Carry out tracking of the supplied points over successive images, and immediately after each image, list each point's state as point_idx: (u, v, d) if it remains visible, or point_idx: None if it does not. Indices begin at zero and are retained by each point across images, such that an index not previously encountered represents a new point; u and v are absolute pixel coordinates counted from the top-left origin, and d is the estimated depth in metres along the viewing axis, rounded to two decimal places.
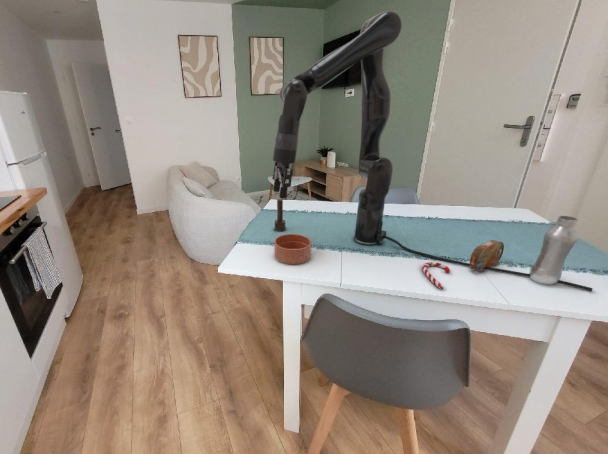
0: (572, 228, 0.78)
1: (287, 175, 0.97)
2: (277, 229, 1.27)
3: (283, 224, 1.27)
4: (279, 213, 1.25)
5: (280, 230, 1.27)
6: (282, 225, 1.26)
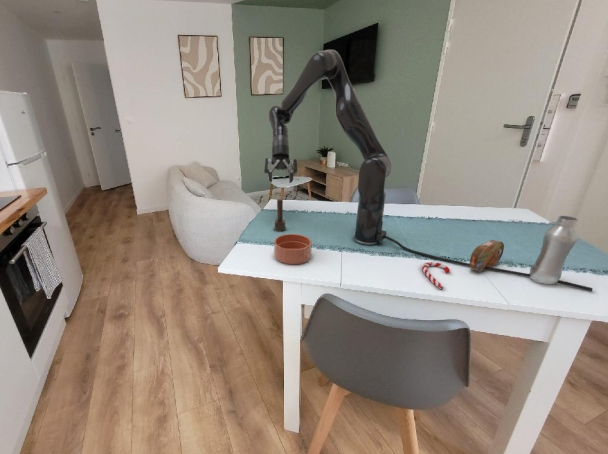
0: (572, 228, 0.78)
1: None
2: (277, 229, 1.27)
3: (283, 224, 1.27)
4: (279, 213, 1.25)
5: (280, 230, 1.27)
6: (282, 225, 1.26)
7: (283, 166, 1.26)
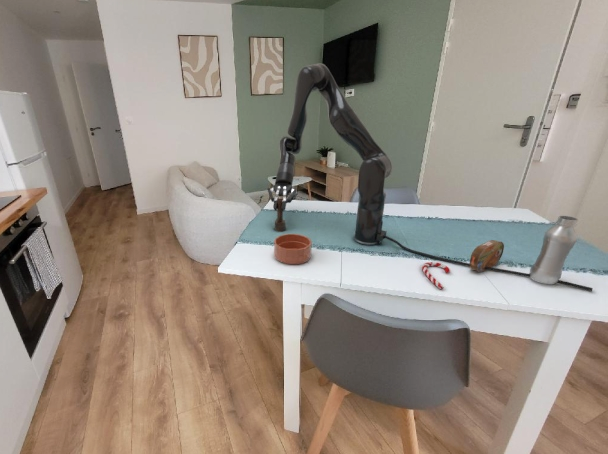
0: (572, 228, 0.78)
1: (276, 191, 1.26)
2: (277, 229, 1.27)
3: (283, 224, 1.27)
4: (279, 213, 1.25)
5: (280, 230, 1.27)
6: (282, 225, 1.26)
7: (281, 192, 1.26)
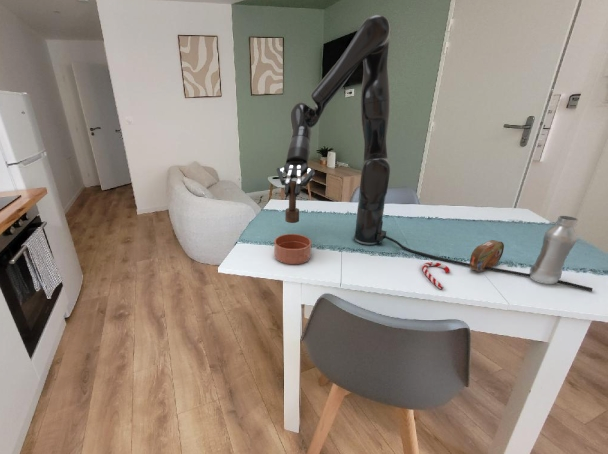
0: (572, 228, 0.78)
1: (287, 171, 0.99)
2: (289, 220, 1.00)
3: (297, 213, 0.99)
4: (292, 199, 0.98)
5: (293, 221, 1.00)
6: (295, 214, 0.99)
7: (294, 172, 0.99)
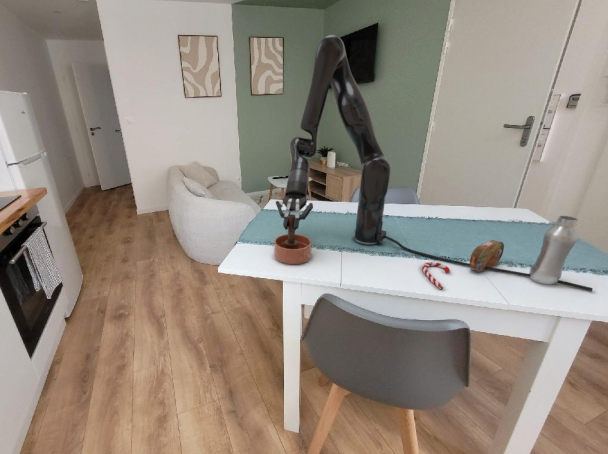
0: (572, 228, 0.78)
1: (286, 204, 1.01)
2: None
3: (295, 246, 1.01)
4: (290, 232, 1.00)
5: None
6: (294, 247, 1.01)
7: (293, 206, 1.01)
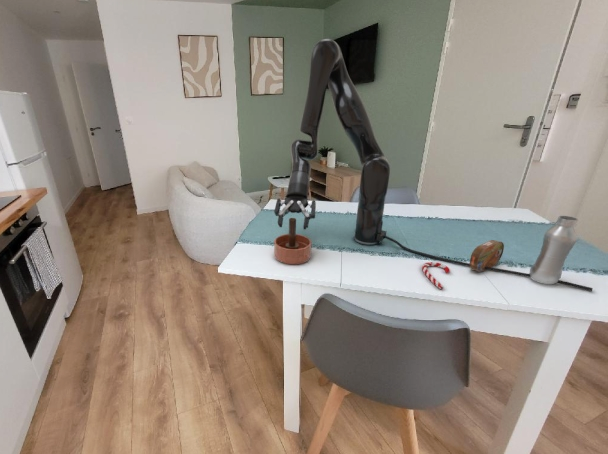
0: (572, 228, 0.78)
1: None
2: None
3: None
4: (291, 235, 1.02)
5: None
6: None
7: (297, 208, 1.02)
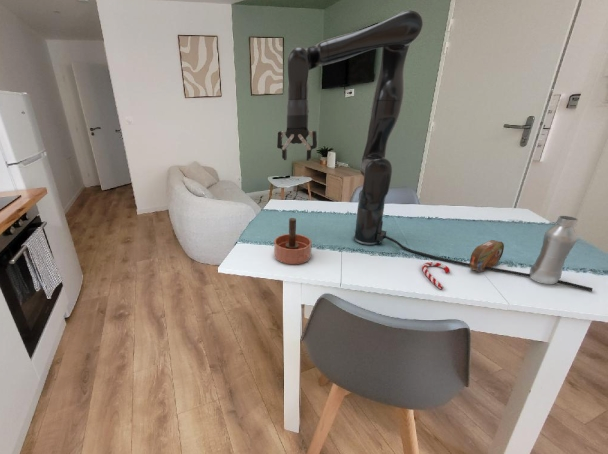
0: (572, 228, 0.78)
1: None
2: None
3: None
4: (291, 235, 1.02)
5: None
6: None
7: (299, 141, 1.05)
